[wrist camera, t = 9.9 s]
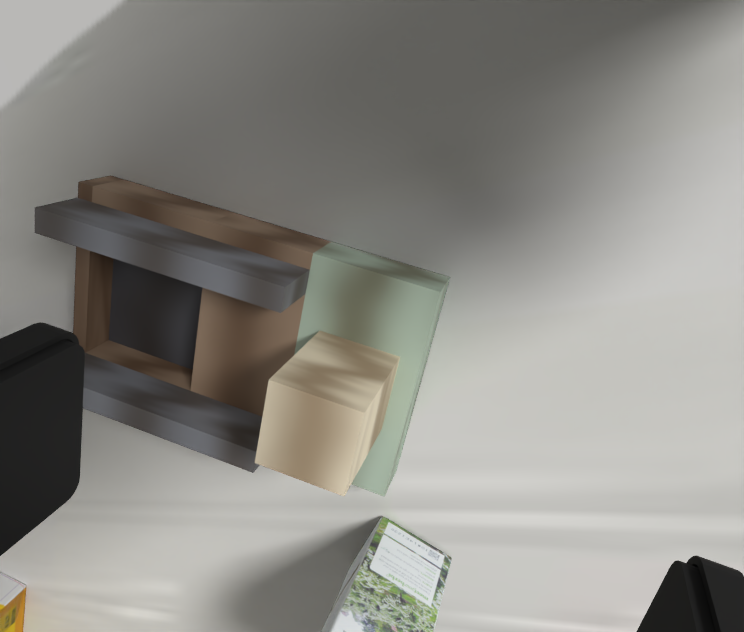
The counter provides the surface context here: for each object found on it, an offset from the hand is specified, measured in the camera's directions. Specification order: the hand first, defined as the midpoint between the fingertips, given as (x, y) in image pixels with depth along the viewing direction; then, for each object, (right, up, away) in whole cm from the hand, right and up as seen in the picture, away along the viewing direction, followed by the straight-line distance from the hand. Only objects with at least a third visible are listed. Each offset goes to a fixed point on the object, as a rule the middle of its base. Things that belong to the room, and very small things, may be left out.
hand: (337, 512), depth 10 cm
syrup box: (+3, -14, +36) cm, 39 cm away
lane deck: (-7, +2, +33) cm, 34 cm away
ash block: (-1, -1, +29) cm, 29 cm away
